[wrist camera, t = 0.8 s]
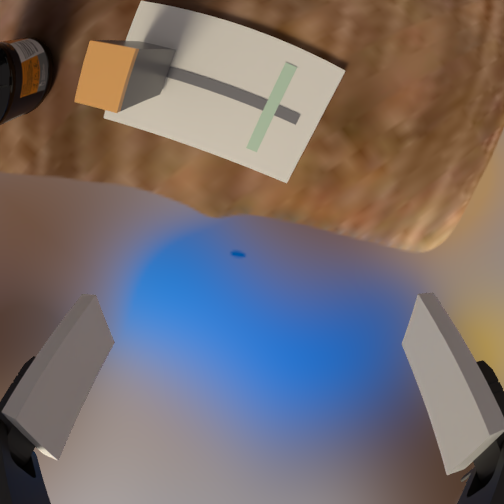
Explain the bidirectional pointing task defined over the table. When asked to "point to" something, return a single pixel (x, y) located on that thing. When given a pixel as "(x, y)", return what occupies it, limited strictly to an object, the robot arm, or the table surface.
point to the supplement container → (23, 76)
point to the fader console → (231, 90)
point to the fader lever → (122, 73)
